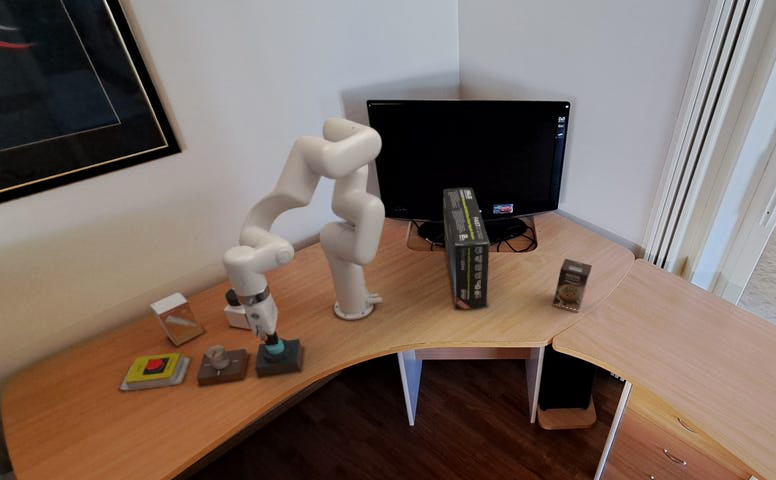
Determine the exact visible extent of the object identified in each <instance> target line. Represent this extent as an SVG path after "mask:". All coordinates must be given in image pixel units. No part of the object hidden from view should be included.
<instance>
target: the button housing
mask: <svg viewBox="0 0 776 480" xmlns="http://www.w3.org/2000/svg"><path fill="white" fill-rule="evenodd" d="M280 339H281V340H282V342H283V345H284V350H283V351H282V352H281V353H279V354H276V355H271V354H269V353H268V351H267V349H266V344H265V343H260V344H258V347H257V353H256V358H255V364H254V370H255V372H256V374H257V377H258V378H262V377H269V376H275V375H283V374H289V373H297V372H301V363H302V353H303V346H302V344H301V341H300V339H299V338H295V339H288V340H287V339H284V338H280Z"/></svg>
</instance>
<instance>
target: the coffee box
mask: <svg viewBox="0 0 776 480" xmlns="http://www.w3.org/2000/svg"><path fill="white" fill-rule="evenodd" d="M592 267H593V266H592V265H591V264H588V263H584V262H580V261H576V260H572V259H569V258H565V259H563V263H562V265H561V266H560V271H559V276H558V279H557V280H558V281H557V284H556V289H555V294H554V300H553V304H552V305H553V307H557V308H561V309H564V310H567V311H571V312H574V313H580V310H581V308H582V305H583V301H584V297H585V293H586V289H587V286H588V282H589V278H590V275H591V271H592ZM556 304H557V305H556ZM559 305H560V306H559ZM563 306H564V307H563ZM566 307H568V308H566ZM570 308H572V309H570ZM573 309H576V310H573ZM579 309H580V310H579ZM577 310H579V311H577Z"/></svg>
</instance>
